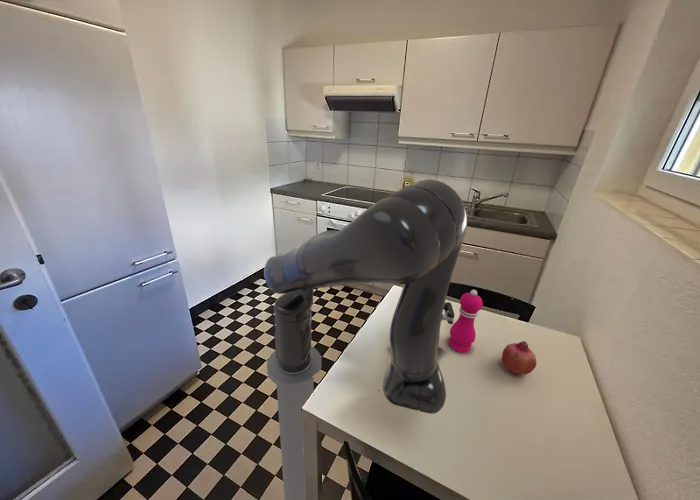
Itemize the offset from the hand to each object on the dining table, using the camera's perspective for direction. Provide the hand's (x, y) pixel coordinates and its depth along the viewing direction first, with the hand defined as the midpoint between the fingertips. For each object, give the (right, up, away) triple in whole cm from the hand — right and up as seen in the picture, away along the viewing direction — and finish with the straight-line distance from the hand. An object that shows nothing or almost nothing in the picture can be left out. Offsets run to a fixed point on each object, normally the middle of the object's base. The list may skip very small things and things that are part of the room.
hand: (427, 293), depth 77 cm
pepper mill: (+12, -18, +9) cm, 23 cm away
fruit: (+24, -22, +1) cm, 33 cm away
